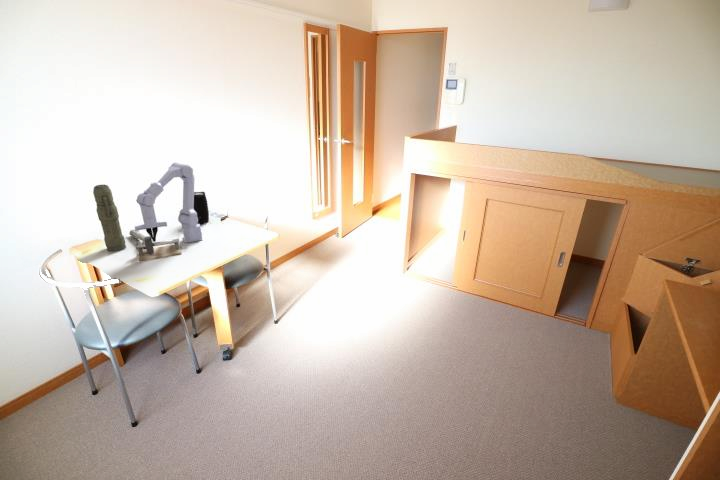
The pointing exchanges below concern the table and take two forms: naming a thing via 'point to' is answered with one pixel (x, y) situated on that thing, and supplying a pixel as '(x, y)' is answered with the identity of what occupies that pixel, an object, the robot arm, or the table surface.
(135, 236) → the toothbrush head
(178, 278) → the table surface
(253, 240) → the table surface
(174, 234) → the table surface
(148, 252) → the tall grey prism
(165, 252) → the pipe rig
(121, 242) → the olive green carved statue
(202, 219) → the portable speaker
